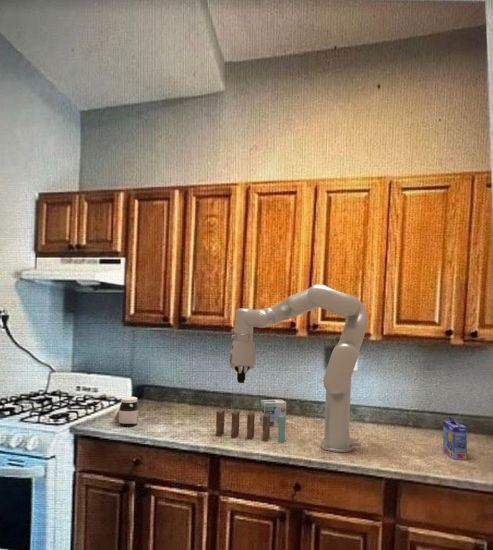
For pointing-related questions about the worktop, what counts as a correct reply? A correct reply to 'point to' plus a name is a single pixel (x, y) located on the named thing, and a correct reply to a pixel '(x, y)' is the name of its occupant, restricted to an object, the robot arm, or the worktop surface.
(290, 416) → the worktop surface
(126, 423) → the spread jar
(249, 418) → the walnut domino
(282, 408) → the light bulb box
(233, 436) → the walnut domino
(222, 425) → the walnut domino
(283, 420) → the teal domino
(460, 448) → the ink cartridge box
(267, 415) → the walnut domino
